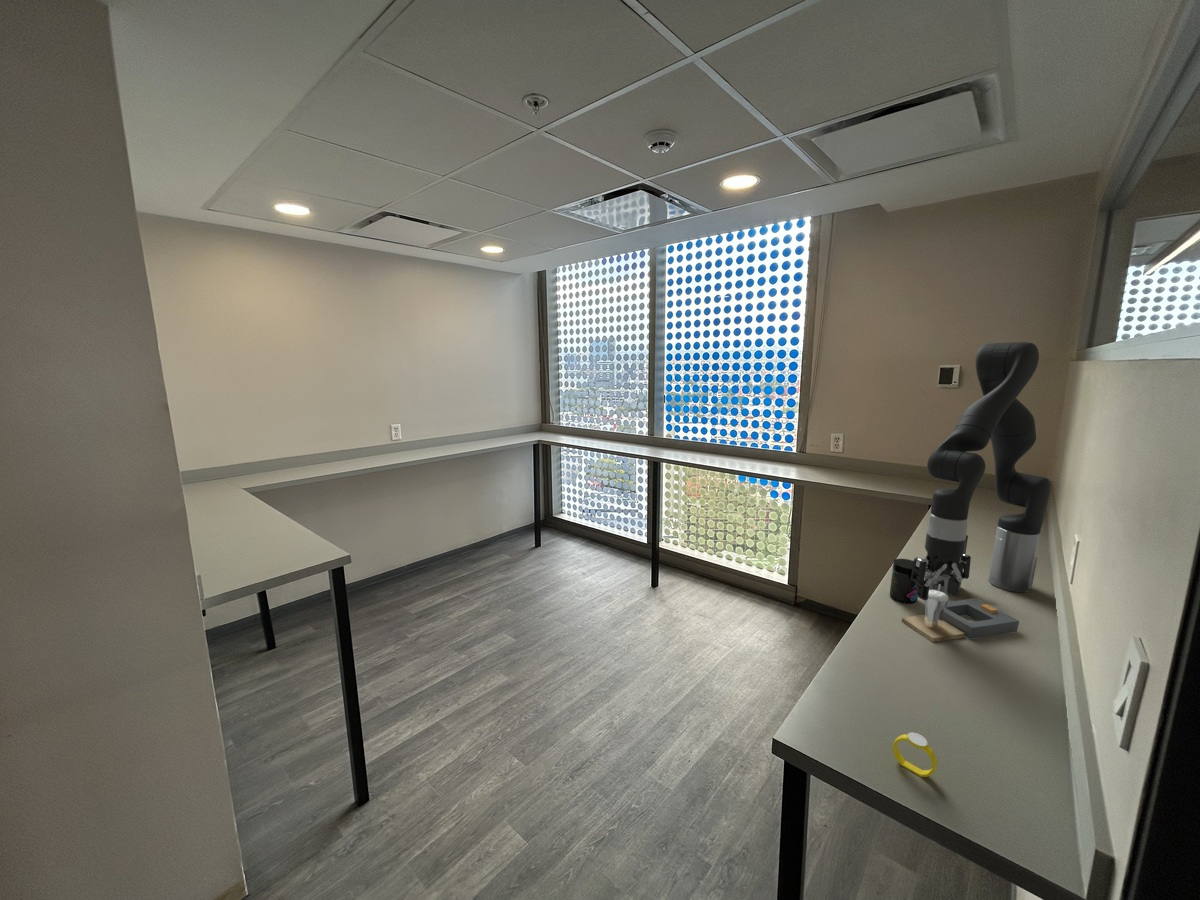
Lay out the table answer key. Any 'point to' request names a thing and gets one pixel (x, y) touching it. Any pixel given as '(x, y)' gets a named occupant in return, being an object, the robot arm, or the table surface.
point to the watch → (919, 743)
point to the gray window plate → (978, 619)
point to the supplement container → (903, 582)
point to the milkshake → (935, 608)
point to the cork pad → (933, 634)
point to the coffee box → (943, 578)
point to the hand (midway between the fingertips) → (937, 596)
